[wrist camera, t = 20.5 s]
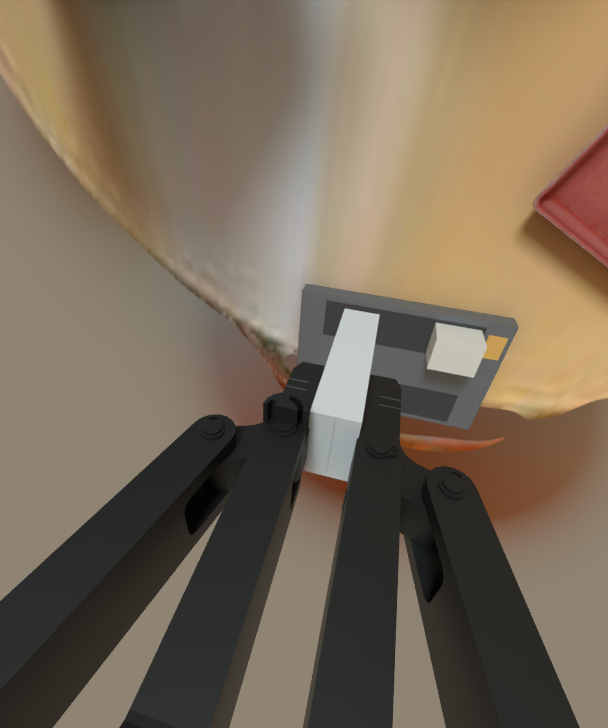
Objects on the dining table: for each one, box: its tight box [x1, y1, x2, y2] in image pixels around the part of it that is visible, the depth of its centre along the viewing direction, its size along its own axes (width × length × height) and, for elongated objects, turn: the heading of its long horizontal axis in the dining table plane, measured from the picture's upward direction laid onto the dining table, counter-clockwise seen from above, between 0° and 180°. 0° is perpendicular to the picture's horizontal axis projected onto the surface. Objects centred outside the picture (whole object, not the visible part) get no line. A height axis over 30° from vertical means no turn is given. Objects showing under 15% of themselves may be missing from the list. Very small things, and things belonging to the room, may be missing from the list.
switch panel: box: [297, 284, 519, 430], centre depth 46 cm, size 24×16×2 cm, turn 86°
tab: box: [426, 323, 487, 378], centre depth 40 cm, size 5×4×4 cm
